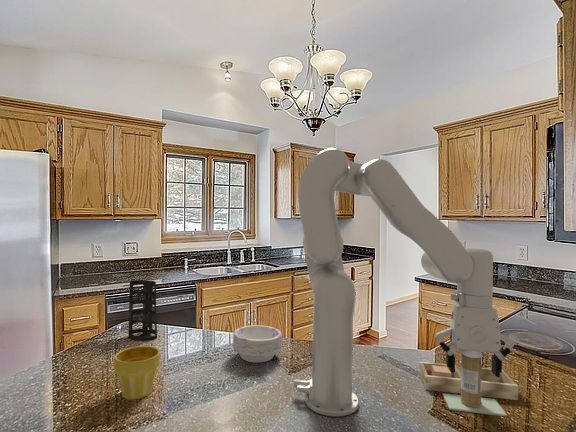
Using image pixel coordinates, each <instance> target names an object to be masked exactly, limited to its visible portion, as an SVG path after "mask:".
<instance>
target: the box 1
mask: <svg viewBox="0 0 576 432" xmlns="http://www.w3.org/2000/svg"><path fill="white" fill-rule="evenodd" d="M432 365H434V366H444V367H447V365H446V363H438V362H437V363H436V362H428V361H427V362H426V361H419V362H418V375H419V377H420V379H421V383H422V385H423V388H424V390H425V391H431V390H433V391H432V392H440V391H442V392H441V393H448V394H451V393H452V394H458V393H459V394H458V395H461V370H459V368H458V366H457V365H456V364H455V372H454V373H452V372H451V371H450V369H449V367H448V369H449V371H450V372H451V378H450V377H440V376H432Z"/></svg>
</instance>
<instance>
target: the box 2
mask: <svg viewBox="0 0 576 432" xmlns="http://www.w3.org/2000/svg"><path fill="white" fill-rule="evenodd" d="M481 379H482V391H481V397H484V398H493V399H503V400H505V399H506V400H514V401H519V385H518V384H517V383H516V382H515V381H514V380H513V379H512V377H510V375H508V374H507V373H506V372H505V370H504V369H502V372H500V377H496V376H495V375H494V374H493V373H492V367H490V368H488V367H481Z"/></svg>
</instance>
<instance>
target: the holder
mask: <svg viewBox="0 0 576 432" xmlns="http://www.w3.org/2000/svg"><path fill="white" fill-rule="evenodd" d="M137 285H143V286H142V287H143V289H142V290H134V286H137ZM128 294H129V298H128V299H129V303H128V339H131V340H137V341H151V340H152V341H153V340H156V339H157V338H158V326H157V325H158V323H157V321H158V320H157V282H156V281H155V280H145V279H144V280H143V279H141V280H131V281H129V293H128ZM134 295H137V298H136V300H135V299H134ZM137 304H138V305H140V304H141V305H142V309H133V308H134V307H133V306H135V305H137ZM135 314H136V319H133V315H135ZM141 317H142V318H141ZM139 323H142V326H141V328H136V329H135V328H134V329H133V325H134V324H139ZM153 325H154V328H153ZM135 334H137V335H135ZM150 335H152V336H150Z"/></svg>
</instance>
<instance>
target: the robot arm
mask: <svg viewBox="0 0 576 432" xmlns="http://www.w3.org/2000/svg"><path fill="white" fill-rule="evenodd" d="M297 190H298V191H297V198H298V206H299V213H300V214H299V215H300V219H301V226H302V231H303V239H302V245H303V253H304V258H305V261H306V267H307V273H308V276H309V281H310V286H311V289H312V294H313V314H312V353H311V354H312V355H311V356H312V359H311V360H312V361H311V367H312V368H311V369H312V370H311V379H307V380H303V379H296V378H294V380H293V388H294V389H295V388H296V393H305V395H304V401H305V405H306V406H307V407H308V409H310V410H311V411H313V412H314V413H316V414H320V415H322V416H323V415H324V416H326V417H334V418H335V417H346V416H348V415H351V414H353V413H355V412H356V411H357V410H358V408H359V401H360V400H359V397H358V396H357V395H356V394H355V393H354V392H353V357H354V356H353V355H354V354H353V353H354V318H355V317H354V316H355V308H356V296H357V294H356V287H355V283H354V282H353V280H352V279H351V277H350V275H348V274H347V272H345V268H344V263H343V258H342V254H343V251H344V241H343V236H342V233H341V230H340V223H339V220H338V217H337V211H336V204H335V192H340V193H344V194H345V193H346V194H350V195H356V196H363V197H364V196H365V197H370V198H371V199H372V201H373V202H374V204H375V205H376V206H377V207H378V208H379V210H380V211H381V213H382V214H383V215H384V216H385V218H386V219H387V221H388V222H389V223H390V225H391V226H393V228H394V229H395V230H396V231H398V232H399V233H401V234H403V235H404V236H406V237H407V238H409V239H410V240H411V241H413V242H414V243H415V244H416V245H417V246H418V247H420V248H421V249H422V251H423V254H422V256H421V258H420V263H421V267H422V269H423V270H424V271H425V272H426V273H427V274H428V275H430V276H432V277H433V278H434V277H435V278H436V279H437V278H438V279H440V280H443V281H445V282H448V283H451V284H456V291H455V293H453V294H450V296H449V297H450V301H454V302H455V303H454V304H453V307H452V311H451V318H450V324H449V327H448V328H446V329H443V330H441V331H438V332H436V333H435V334H434V336H435V339H436V341H437V343H438V345H439V346H440V348H441V349H442V350H443V351H444V352H445V354H446V360H445V361H446V363H445V364H446V365H447V367H449V369H450V371H451V372H452V373H454V372H455V365H456V355H455V353H456V352H457V351H458V350H460V351H461V350H466V351H477V352H482V353H491V354H492V356H491V369H492V373H493V374H494V375H495V376H496V377H500V372H502V370H503V367H502V366H503V361H504V360H505V358H506V357H507V356H508V355H509V354H510V353H511V350H512V349H513V348H514V346H515V344H516V342H515V340H514V339H512V338H510V337H508V336H507V335H504V334H503V333H501V328H500V322H499V315H498V309H497V308H496V307H494V306H493V295H494V293H493V289H494V287H493V286H494V285H493V284H494V277H493V276H494V258H493V257H494V256H493V252H491V251H490V250H487V249H483V248H482V249H481V248H466V247H465V246H464V245H463V244H462V242H461V241H460V239H458V237H457V236H456V235H455V233H453V231H452V230H451V229H450V228H449V227H448V226H447V225H446V224H444V223H443V222H442V220H440V219H439V218H438V217H436V215H435V214H433V212H432V211H431V210H429V209H428V208H427V207H425V206H424V204H423V203H422V202H421V201H420V200H419V198H418V197H417V195H416V194H415V192H414V191H413V190H412V189H411V188H410V186H409V185H408V184H407V182H406V181H405V179H404V178H403V176H402V175H401V174H400V173H399V172H398V170H397V169H396V168H395V166H394V165H393V163H391V162H390V161H389V160H386V159H383V158H376V159H373V160H370V161H369V162H367V163H359V162H354V161H350V160H349V158H348V156H347V154H346V153H345V152H344V150H341V149H339V148H335V147H330V148H327V149H323V150H321V151H320V152H319V153H317V154H316V155H315V156H314V157H313V158H312V159H311V160H310V161H309V162H308V164H307V165H306V166H305V167H304V170H303V171H302V174H301V176H300V178H299V184H298V189H297ZM447 337H449V343H448V344H446V342H445V341H444V338H447ZM501 341H502V342H504V345H503V346H501V345H502V344H501Z"/></svg>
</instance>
